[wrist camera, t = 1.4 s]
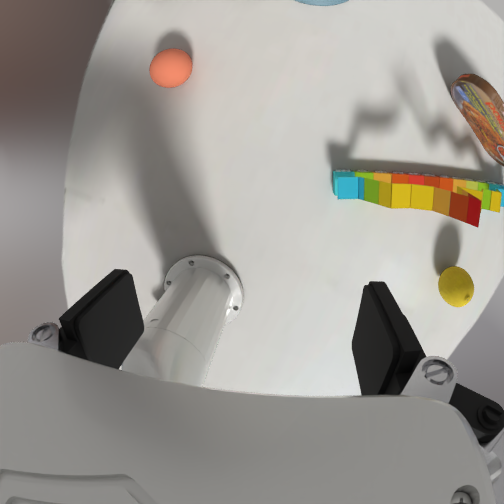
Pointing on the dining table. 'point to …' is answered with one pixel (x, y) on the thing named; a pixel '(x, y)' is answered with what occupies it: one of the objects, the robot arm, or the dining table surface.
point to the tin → (481, 112)
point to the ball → (170, 68)
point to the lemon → (456, 286)
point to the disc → (322, 2)
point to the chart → (421, 192)
